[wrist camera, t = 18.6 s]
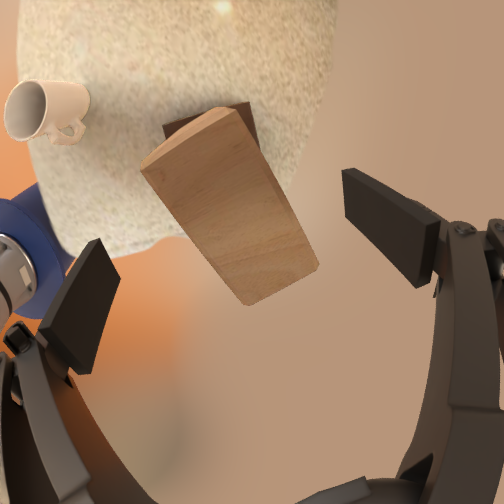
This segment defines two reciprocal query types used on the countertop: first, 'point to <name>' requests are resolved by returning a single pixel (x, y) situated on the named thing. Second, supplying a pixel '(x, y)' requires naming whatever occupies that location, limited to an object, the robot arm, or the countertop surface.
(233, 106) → the plinth
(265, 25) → the countertop surface
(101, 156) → the countertop surface
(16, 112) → the mug
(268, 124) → the countertop surface
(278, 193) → the decorative block
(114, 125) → the countertop surface
